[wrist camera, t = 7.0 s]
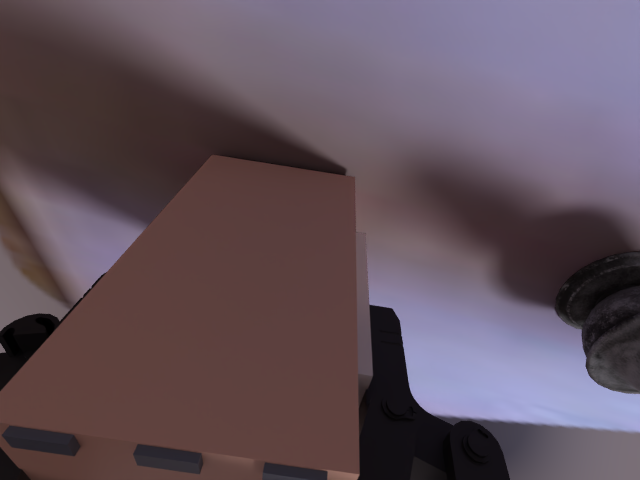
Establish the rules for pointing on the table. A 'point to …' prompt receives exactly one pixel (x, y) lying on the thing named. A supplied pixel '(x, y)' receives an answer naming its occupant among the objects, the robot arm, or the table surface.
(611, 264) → the dark rounded upright piece
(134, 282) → the stub
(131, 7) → the table surface
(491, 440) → the robot arm
